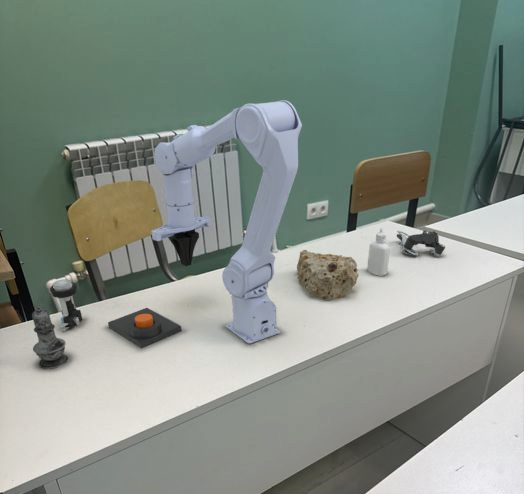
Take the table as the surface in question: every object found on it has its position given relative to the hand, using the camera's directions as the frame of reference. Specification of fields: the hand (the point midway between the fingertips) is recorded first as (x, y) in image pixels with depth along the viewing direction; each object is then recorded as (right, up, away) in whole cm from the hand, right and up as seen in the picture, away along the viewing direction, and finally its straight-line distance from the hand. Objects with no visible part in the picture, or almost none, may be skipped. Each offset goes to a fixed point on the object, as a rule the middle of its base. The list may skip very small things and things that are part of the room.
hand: (186, 264), depth 108 cm
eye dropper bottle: (+48, +1, +21) cm, 53 cm away
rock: (+34, -3, +15) cm, 37 cm away
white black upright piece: (-25, -14, -2) cm, 29 cm away
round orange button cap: (-7, -14, -9) cm, 18 cm away
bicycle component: (+64, +10, +36) cm, 74 cm away
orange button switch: (-8, -15, -4) cm, 18 cm away
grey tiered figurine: (-23, -22, -15) cm, 35 cm away
